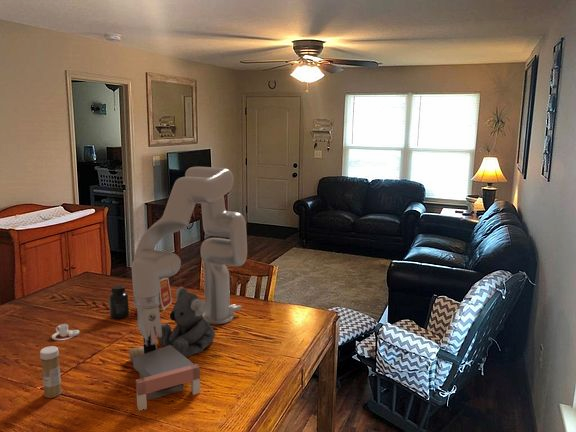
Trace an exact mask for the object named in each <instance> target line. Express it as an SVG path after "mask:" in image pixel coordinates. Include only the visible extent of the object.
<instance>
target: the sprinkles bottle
mask: <svg viewBox="0 0 576 432" xmlns="http://www.w3.org/2000/svg"><path fill="white" fill-rule="evenodd" d="M59 353H60V352H59V348H58V347H57V346H53V345H50V346H46V347H42V349H41V350H39V356H40V357H39V358H40V360H41V370H42V371H41V372H42V374H41V375H42V385H43V391H44V392H43V395H44V397H45V398H48V399H49V398H50V399H52V398H55V397H58V396H60V395H61V394H62V393H63V390H62V385H61V383H62V379H61V368H60V360H59V355H60V354H59Z"/></svg>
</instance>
